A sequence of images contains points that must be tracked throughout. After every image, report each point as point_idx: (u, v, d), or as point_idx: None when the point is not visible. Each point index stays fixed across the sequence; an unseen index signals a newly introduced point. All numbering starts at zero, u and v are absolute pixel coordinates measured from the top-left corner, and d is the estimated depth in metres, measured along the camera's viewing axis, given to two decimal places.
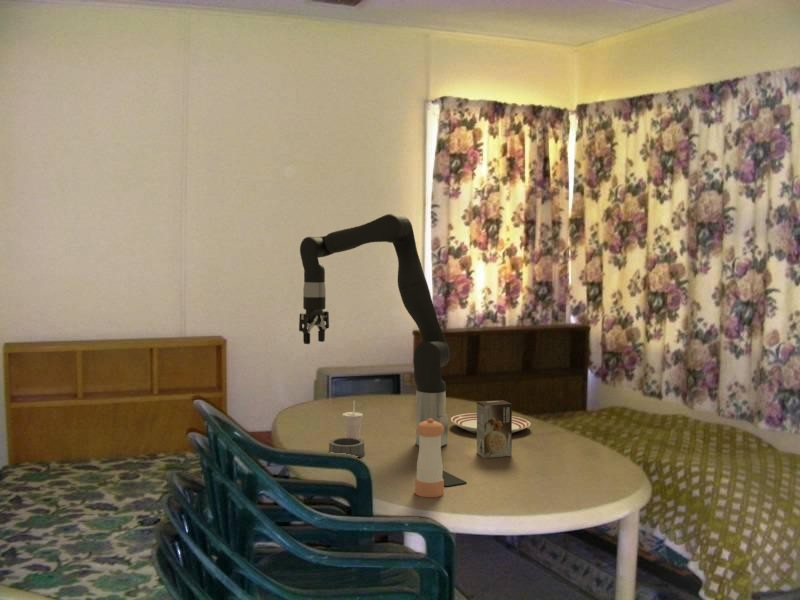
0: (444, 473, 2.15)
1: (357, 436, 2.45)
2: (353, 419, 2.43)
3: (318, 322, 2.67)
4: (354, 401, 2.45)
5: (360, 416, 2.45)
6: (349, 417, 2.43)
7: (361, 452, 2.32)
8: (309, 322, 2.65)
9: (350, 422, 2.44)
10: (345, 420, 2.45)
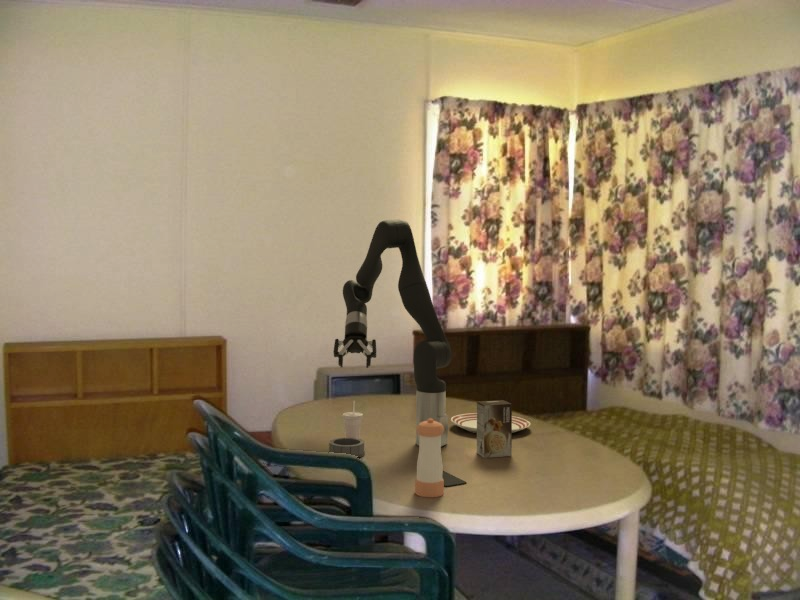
0: (444, 473, 2.15)
1: (357, 436, 2.45)
2: (353, 419, 2.43)
3: (357, 347, 2.61)
4: (354, 401, 2.45)
5: (360, 416, 2.45)
6: (349, 417, 2.43)
7: (361, 452, 2.32)
8: (347, 348, 2.61)
9: (350, 422, 2.44)
10: (345, 420, 2.45)
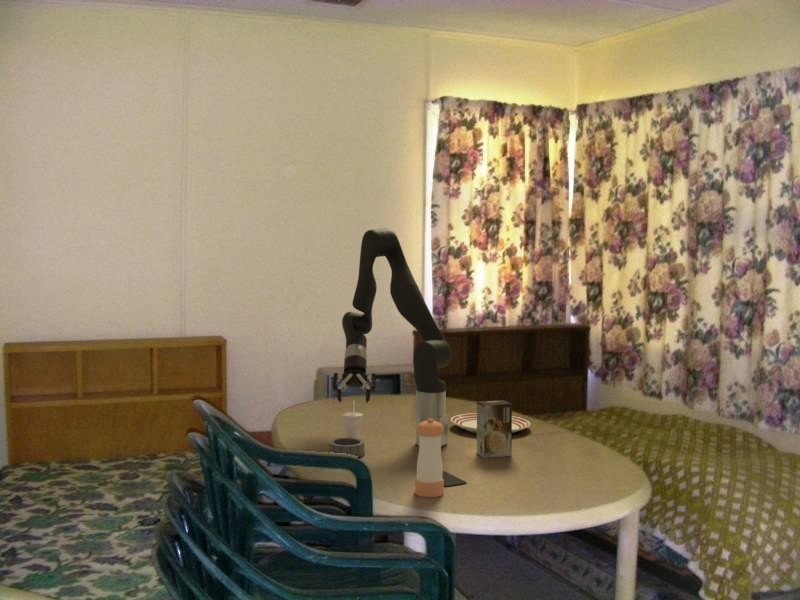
0: (444, 473, 2.15)
1: (357, 436, 2.45)
2: (353, 419, 2.43)
3: (357, 381, 2.55)
4: (354, 401, 2.45)
5: (360, 416, 2.45)
6: (349, 417, 2.43)
7: (361, 452, 2.32)
8: (346, 383, 2.56)
9: (350, 422, 2.44)
10: (345, 420, 2.45)
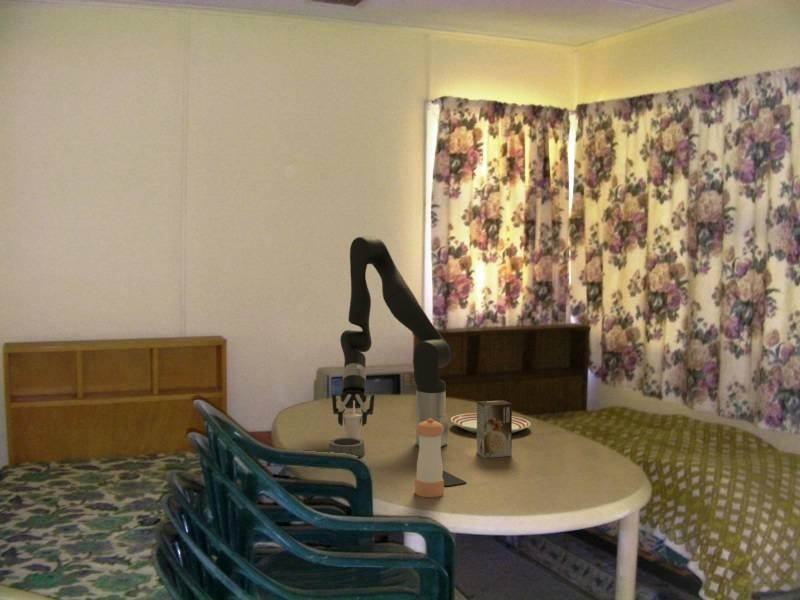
0: (444, 473, 2.15)
1: (357, 436, 2.45)
2: (353, 419, 2.43)
3: None
4: (354, 401, 2.45)
5: (360, 416, 2.45)
6: (349, 417, 2.43)
7: (361, 452, 2.32)
8: None
9: (350, 422, 2.44)
10: (345, 420, 2.45)
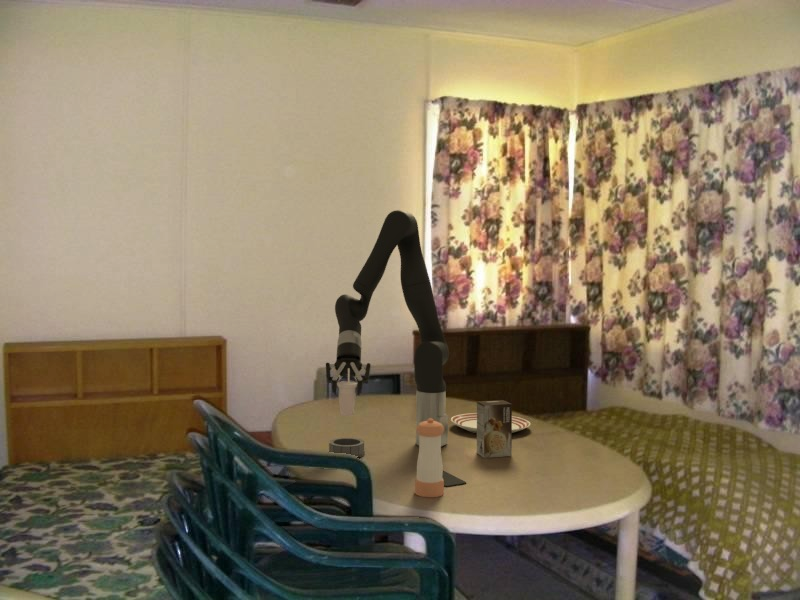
0: (444, 473, 2.15)
1: (352, 406, 2.33)
2: (348, 388, 2.31)
3: None
4: (349, 369, 2.33)
5: (355, 384, 2.32)
6: (343, 385, 2.31)
7: (361, 452, 2.32)
8: None
9: (344, 391, 2.31)
10: (339, 389, 2.32)
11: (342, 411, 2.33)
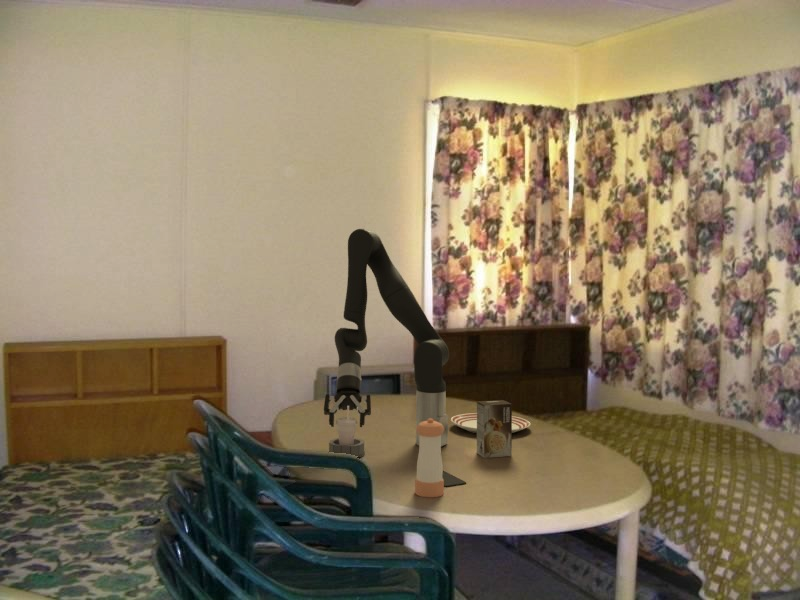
0: (444, 473, 2.15)
1: (351, 443, 2.33)
2: (347, 425, 2.31)
3: (350, 403, 2.37)
4: (348, 406, 2.33)
5: (354, 422, 2.33)
6: (343, 423, 2.31)
7: (361, 452, 2.32)
8: None
9: (344, 428, 2.32)
10: (339, 426, 2.33)
11: None
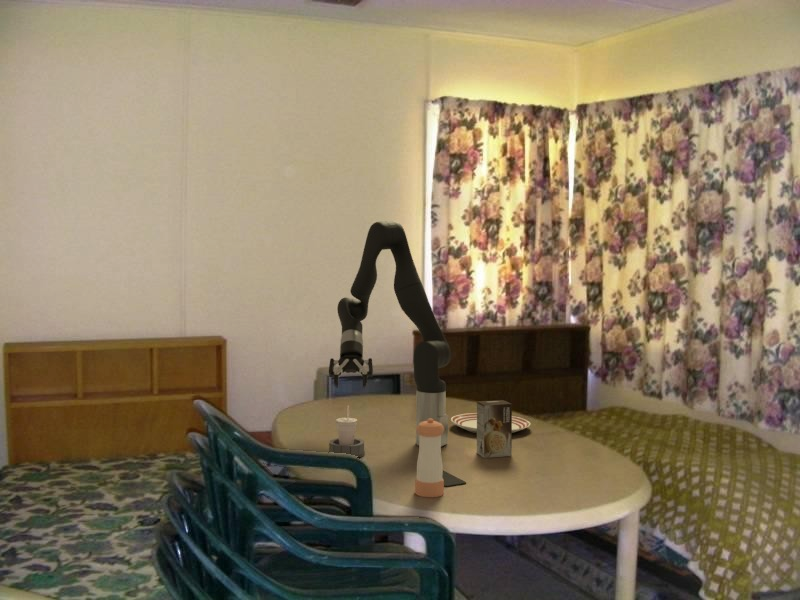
0: (444, 473, 2.15)
1: (351, 443, 2.33)
2: (347, 425, 2.32)
3: (353, 366, 2.53)
4: (348, 406, 2.33)
5: (354, 422, 2.33)
6: (343, 423, 2.31)
7: (361, 452, 2.32)
8: (342, 368, 2.54)
9: (344, 428, 2.32)
10: (339, 426, 2.33)
11: None
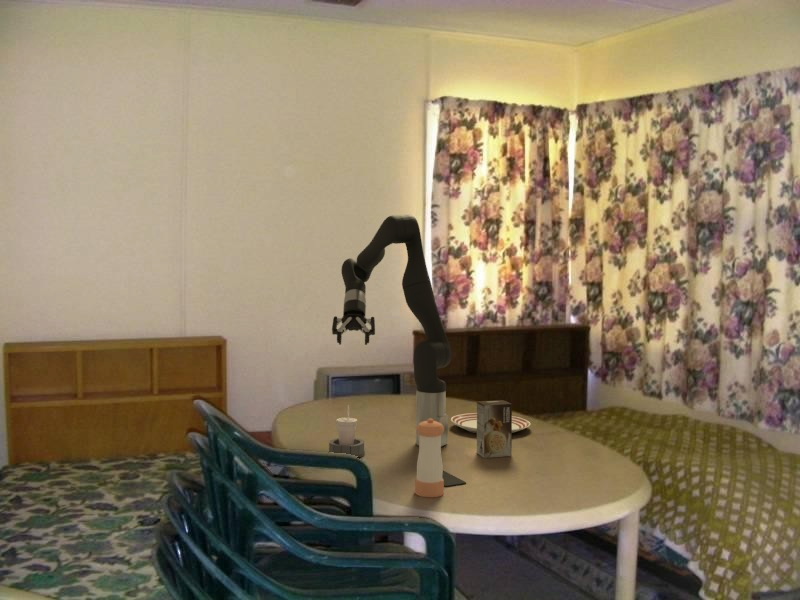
0: (444, 473, 2.15)
1: (351, 443, 2.33)
2: (347, 425, 2.32)
3: (356, 324, 2.60)
4: (348, 406, 2.33)
5: (355, 422, 2.33)
6: (343, 423, 2.31)
7: (361, 452, 2.32)
8: None
9: (344, 428, 2.32)
10: (339, 426, 2.33)
11: None
